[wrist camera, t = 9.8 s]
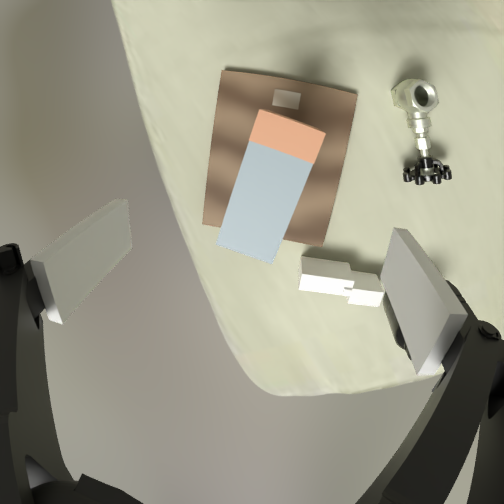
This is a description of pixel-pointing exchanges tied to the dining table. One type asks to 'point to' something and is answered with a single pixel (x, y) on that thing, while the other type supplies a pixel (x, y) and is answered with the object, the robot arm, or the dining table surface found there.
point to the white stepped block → (339, 281)
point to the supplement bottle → (395, 325)
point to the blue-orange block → (269, 184)
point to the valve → (420, 128)
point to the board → (295, 107)
